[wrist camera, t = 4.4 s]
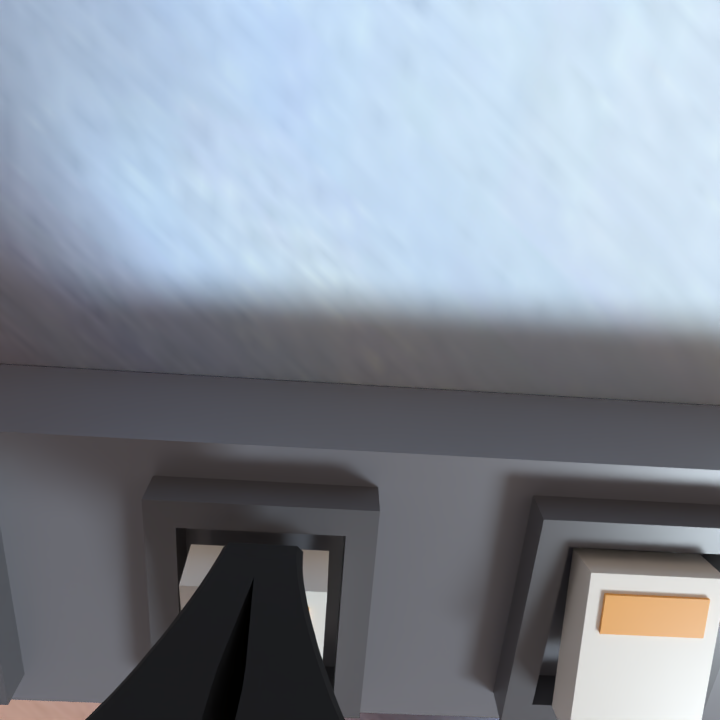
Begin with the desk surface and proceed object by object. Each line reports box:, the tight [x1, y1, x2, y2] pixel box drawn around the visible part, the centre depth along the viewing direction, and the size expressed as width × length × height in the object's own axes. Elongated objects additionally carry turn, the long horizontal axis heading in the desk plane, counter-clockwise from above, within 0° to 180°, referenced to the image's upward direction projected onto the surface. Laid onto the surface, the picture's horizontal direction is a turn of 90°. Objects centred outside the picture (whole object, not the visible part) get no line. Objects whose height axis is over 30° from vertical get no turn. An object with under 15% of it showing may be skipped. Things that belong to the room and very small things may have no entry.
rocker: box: [552, 548, 720, 720], centre depth 13 cm, size 3×4×1 cm
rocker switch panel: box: [0, 364, 720, 720], centre depth 15 cm, size 32×7×4 cm, turn 86°
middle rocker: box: [179, 544, 329, 660], centre depth 13 cm, size 3×4×1 cm
